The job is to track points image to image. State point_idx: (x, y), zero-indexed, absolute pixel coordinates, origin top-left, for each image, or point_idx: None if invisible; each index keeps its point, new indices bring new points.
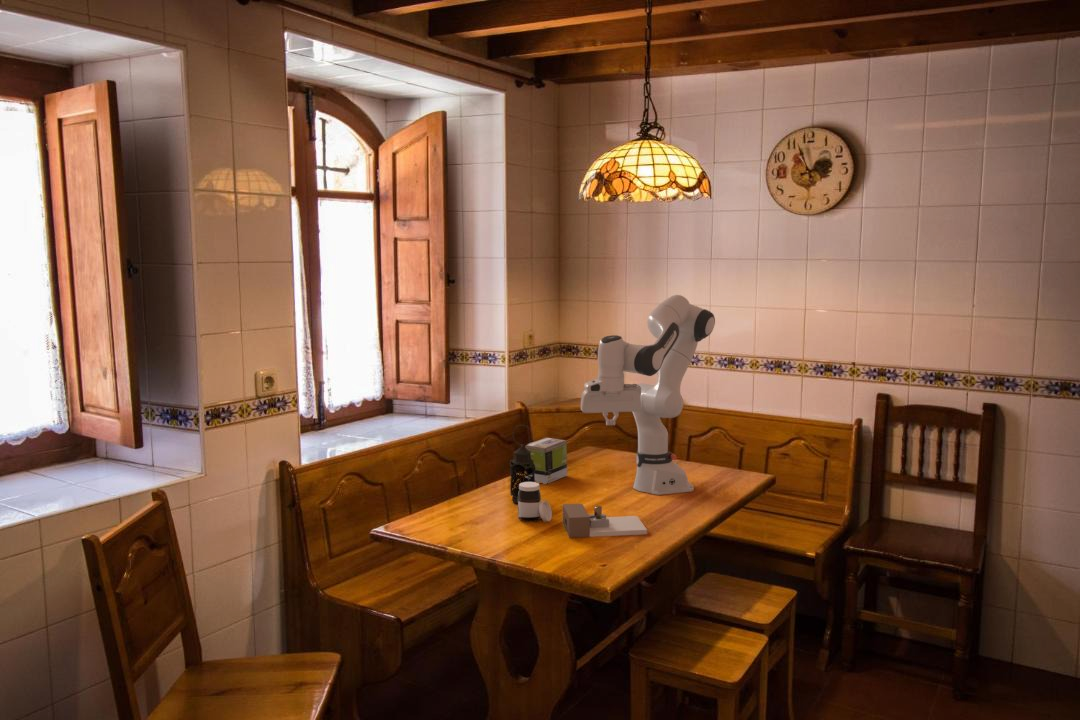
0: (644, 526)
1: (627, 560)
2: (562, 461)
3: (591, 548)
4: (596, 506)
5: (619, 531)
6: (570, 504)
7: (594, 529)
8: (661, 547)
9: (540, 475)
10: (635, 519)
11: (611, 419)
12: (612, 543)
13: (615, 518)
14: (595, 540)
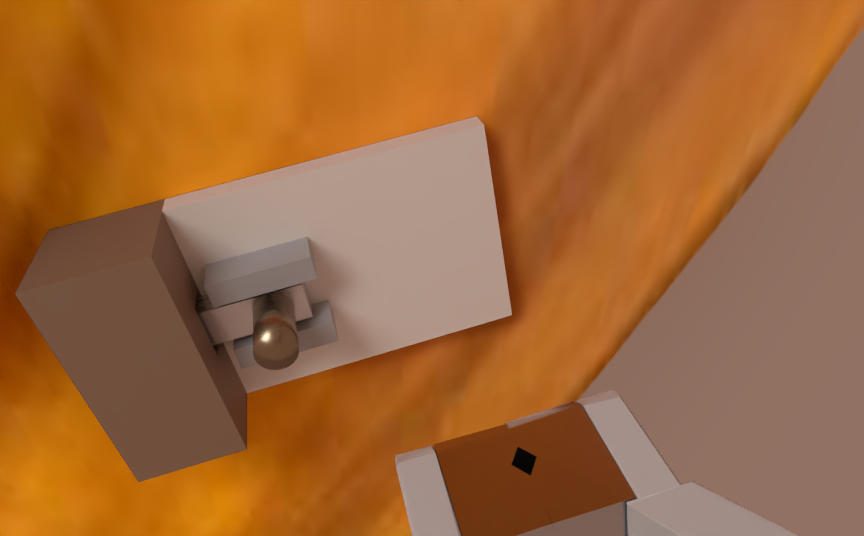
0: (505, 278)
1: None
2: None
3: (274, 479)
4: (265, 348)
5: (386, 351)
6: (72, 286)
7: None
8: None
9: None
10: (471, 185)
11: (588, 532)
12: (355, 420)
13: (362, 187)
14: (279, 407)
